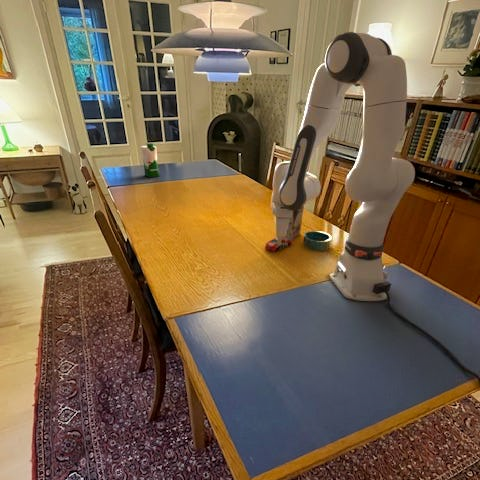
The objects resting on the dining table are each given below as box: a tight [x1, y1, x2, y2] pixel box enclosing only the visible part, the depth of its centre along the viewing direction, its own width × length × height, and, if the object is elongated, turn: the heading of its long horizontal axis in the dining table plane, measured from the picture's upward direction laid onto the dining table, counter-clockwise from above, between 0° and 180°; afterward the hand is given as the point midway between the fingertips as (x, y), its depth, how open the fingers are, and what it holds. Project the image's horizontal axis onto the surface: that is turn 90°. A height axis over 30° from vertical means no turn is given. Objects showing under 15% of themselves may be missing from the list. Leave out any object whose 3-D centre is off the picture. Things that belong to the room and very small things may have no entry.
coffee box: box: [285, 205, 305, 241], centre depth 148 cm, size 9×6×16 cm
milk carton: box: [140, 142, 160, 178], centre depth 227 cm, size 9×9×20 cm
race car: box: [264, 237, 292, 252], centre depth 142 cm, size 13×5×4 cm, turn 133°
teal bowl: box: [302, 230, 332, 252], centre depth 143 cm, size 11×11×4 cm
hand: (278, 239), depth 141 cm, fingers open, 8 cm apart
